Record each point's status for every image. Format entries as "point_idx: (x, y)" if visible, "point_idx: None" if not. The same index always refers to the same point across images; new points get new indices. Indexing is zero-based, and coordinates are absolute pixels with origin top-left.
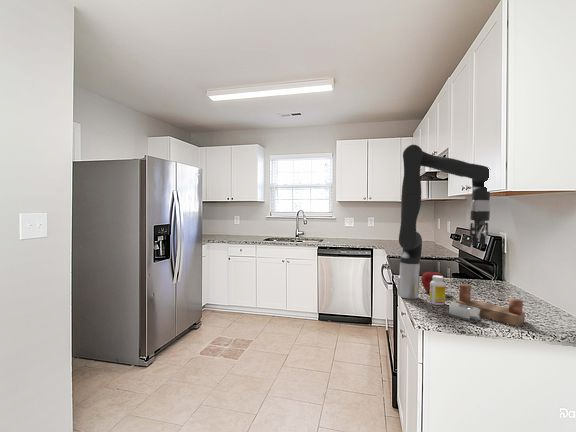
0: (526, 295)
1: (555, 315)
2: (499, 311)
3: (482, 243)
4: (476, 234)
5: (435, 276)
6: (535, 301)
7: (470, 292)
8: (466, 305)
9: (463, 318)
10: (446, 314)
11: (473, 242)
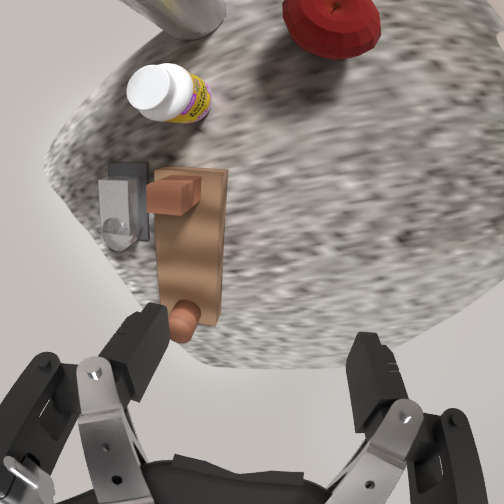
0: (482, 281)
1: (332, 349)
2: (162, 283)
3: (351, 358)
4: (70, 414)
5: (138, 81)
6: (438, 306)
7: (190, 207)
8: (125, 214)
9: None
10: (108, 171)
11: (126, 332)
